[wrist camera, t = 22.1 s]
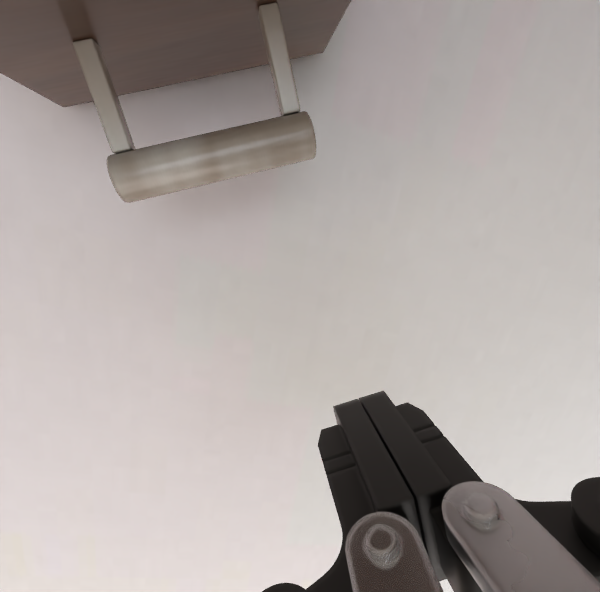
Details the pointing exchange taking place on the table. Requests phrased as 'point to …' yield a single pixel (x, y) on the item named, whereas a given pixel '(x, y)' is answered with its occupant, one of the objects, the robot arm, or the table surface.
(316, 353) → the table surface
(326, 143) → the table surface
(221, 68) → the drawer
